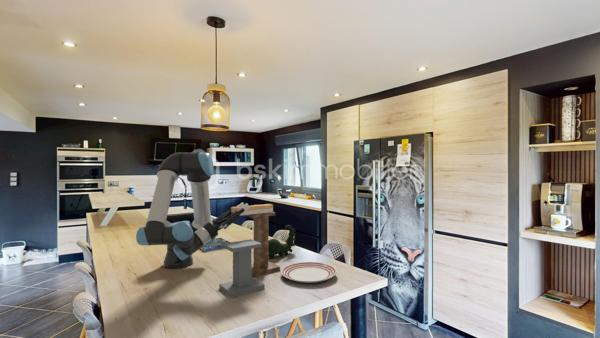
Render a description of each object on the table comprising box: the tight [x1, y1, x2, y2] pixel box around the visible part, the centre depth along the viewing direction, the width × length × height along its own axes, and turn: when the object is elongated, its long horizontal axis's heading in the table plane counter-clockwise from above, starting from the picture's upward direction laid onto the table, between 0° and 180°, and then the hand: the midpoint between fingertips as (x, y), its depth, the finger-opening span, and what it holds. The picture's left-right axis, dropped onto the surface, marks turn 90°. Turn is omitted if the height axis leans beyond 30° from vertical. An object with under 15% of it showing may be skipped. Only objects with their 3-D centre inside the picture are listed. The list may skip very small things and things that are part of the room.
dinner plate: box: [280, 261, 338, 284], centre depth 153 cm, size 28×27×3 cm
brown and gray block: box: [230, 203, 274, 217], centre depth 158 cm, size 22×4×4 cm, turn 128°
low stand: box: [219, 239, 266, 299], centre depth 136 cm, size 16×12×20 cm
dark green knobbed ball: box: [268, 224, 297, 259], centre depth 187 cm, size 9×19×25 cm
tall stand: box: [245, 211, 281, 278], centre depth 161 cm, size 16×12×30 cm
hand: (245, 205), depth 155 cm, fingers closed on brown and gray block, 4 cm apart
